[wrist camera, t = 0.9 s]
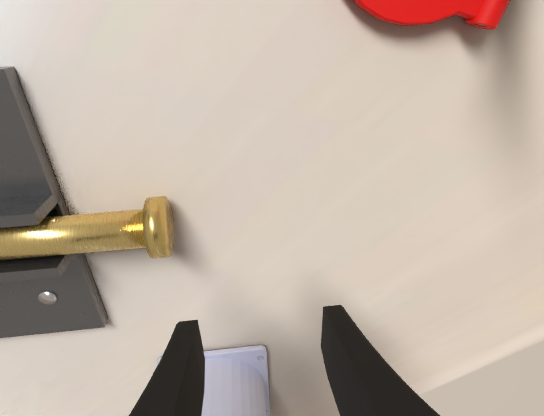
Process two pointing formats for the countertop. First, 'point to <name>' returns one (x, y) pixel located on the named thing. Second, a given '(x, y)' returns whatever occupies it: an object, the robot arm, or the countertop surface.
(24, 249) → the pin
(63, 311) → the hinge
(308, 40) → the countertop surface
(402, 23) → the tow hook
